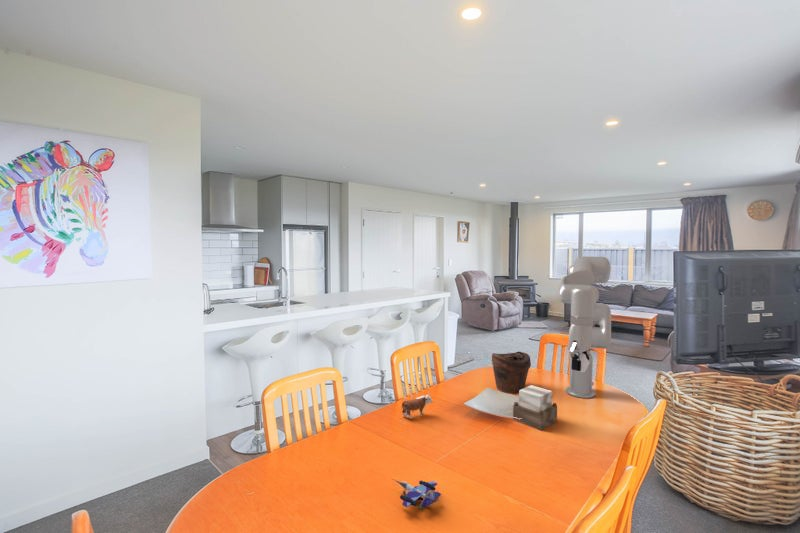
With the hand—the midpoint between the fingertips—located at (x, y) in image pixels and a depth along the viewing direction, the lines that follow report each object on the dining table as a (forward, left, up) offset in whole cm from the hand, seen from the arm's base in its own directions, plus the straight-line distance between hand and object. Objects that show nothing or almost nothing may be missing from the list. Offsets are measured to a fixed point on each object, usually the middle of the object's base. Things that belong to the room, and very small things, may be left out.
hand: (580, 367), depth 149 cm
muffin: (0, 0, -1) cm, 1 cm away
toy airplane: (+75, -11, -24) cm, 79 cm away
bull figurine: (+38, -49, -24) cm, 66 cm away
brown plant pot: (-17, -41, -24) cm, 50 cm away
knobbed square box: (+6, -15, -23) cm, 28 cm away
